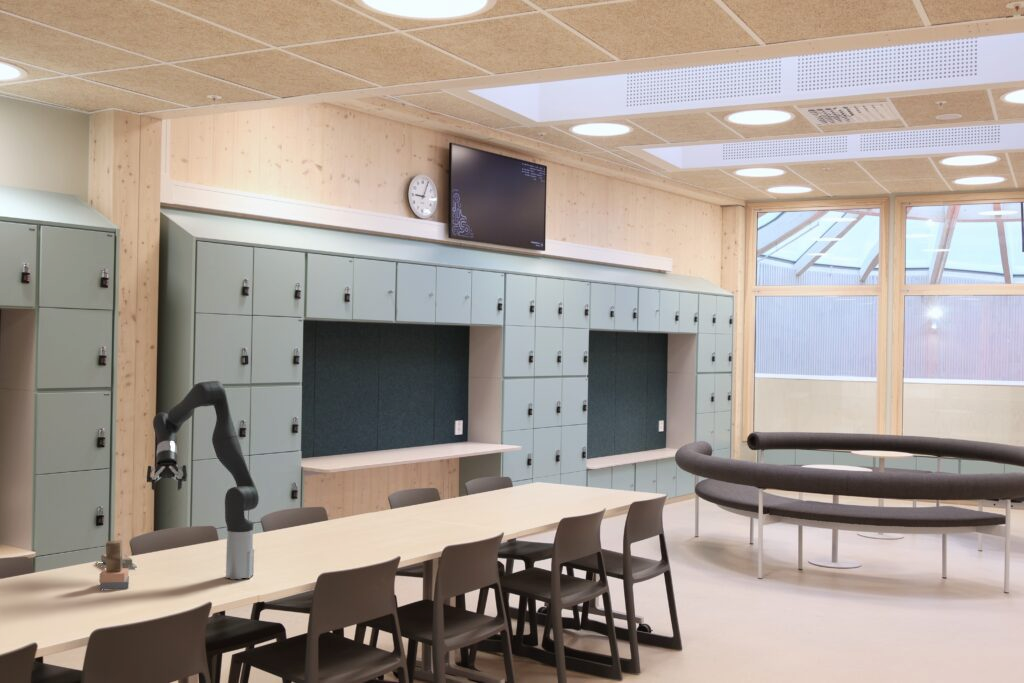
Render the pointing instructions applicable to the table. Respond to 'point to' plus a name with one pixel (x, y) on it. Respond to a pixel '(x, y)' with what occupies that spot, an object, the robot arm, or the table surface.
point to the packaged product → (125, 562)
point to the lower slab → (115, 585)
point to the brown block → (114, 556)
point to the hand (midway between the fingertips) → (166, 489)
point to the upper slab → (113, 576)
